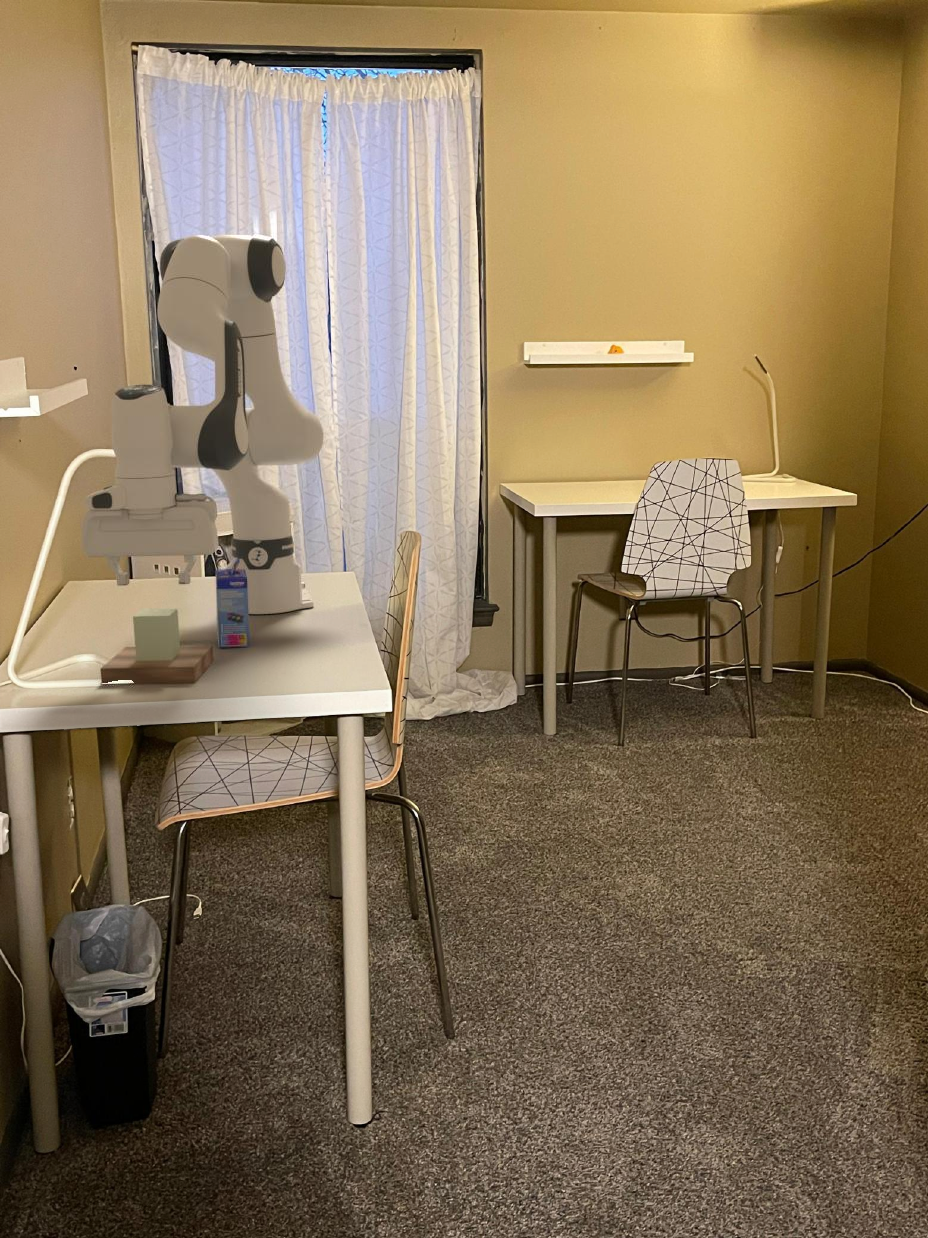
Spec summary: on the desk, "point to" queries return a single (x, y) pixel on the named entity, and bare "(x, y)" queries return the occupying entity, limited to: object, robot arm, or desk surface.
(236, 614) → the ink cartridge box
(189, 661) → the walnut base
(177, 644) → the sage block
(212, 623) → the desk surface
